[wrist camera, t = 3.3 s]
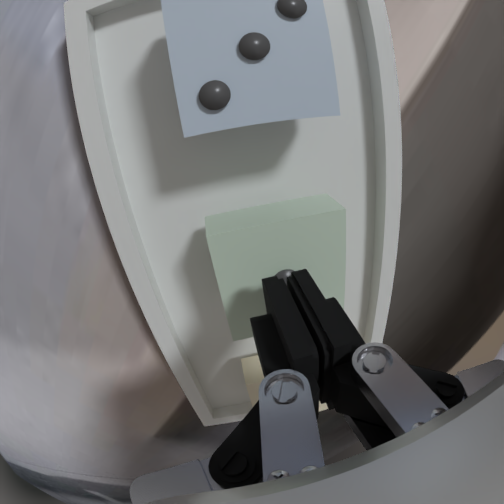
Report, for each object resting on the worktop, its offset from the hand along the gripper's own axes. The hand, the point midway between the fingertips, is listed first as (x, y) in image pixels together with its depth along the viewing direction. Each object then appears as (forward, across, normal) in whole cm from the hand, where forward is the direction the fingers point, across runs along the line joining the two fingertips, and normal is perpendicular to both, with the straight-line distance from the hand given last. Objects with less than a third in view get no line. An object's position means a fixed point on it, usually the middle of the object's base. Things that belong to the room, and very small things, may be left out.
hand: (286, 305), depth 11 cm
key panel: (+5, 0, 0) cm, 5 cm away
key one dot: (+3, 0, 0) cm, 3 cm away
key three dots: (+3, 0, -9) cm, 10 cm away
